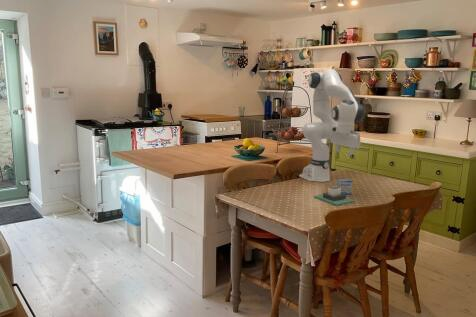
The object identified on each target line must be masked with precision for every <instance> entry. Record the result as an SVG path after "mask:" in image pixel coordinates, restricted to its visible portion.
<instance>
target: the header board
mask: <svg viewBox="0 0 476 317" xmlns="http://www.w3.org/2000/svg"><path fill="white" fill-rule="evenodd" d="M313 199H317V200H319V201H322V202H324V203H327V204H329V205H333V206H335V207H340V206H344V205H349V204H354V203H355V202H356V200H354V199H352V198H348V197H347V195H345V194H342V193H341V195H337V196H332V195H329V194H328V191H327V192H323V193H322V194H317V195H313ZM348 203H349V204H348ZM343 204H344V205H343ZM339 205H340V206H339Z"/></svg>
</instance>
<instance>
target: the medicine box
mask: <svg viewBox="0 0 476 317" xmlns="http://www.w3.org/2000/svg"><path fill="white" fill-rule="evenodd" d="M336 185H337V186H340V188H341V193H342V194H345V195H346V196H347V195H348V196H349V195H352V192H353V180H352V179H350V178H347V179H345V178H344V179H343V178H342V179H336Z"/></svg>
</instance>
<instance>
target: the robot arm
mask: <svg viewBox="0 0 476 317" xmlns="http://www.w3.org/2000/svg"><path fill="white" fill-rule="evenodd" d="M307 84H308V87H309V88H311V89H314V90H313V96H312V110H313V111H312V112H313V115H314V116H315V117H316V118H317V119H320V120H321V121H320V122H314V121H312V122H306V123H305V124H304V126H303V127H302V134H303V136H304V137H305V138H306V139H307V141H309V143H310V144H311V148H312V151H311V152H312V156H311V157H312V158H309V159H308V160H309V161H310V162H309V163H308V164H307V165H306V166H304V168H303V169H302V173H301V174H299V176H298V177H300V178H302V179H304V180H306V181H308V182H320V183H321V182H324V183H325V182H329V181H331V175H330V160H331V159H330V147H329V146H328V145H326V144H325V143H323V142H322V140H329V141H330V143H331V144H334V146H335V149H336V152H337V153H341V148H340V146H342V147H347V148H349V151H348V156H353V155H354V154H353V153H354V151H355V149H356V150H358V149H360V148H361V134H360V133H359V132H358V131H355V123H360V122H361V121H363V119H364V118H365V115H366V112H365V111H366V110H365V108H364V107H363V106H362V104H360V102H359V101H358V99H357V98H356V96H355V94H354V92H353V91H352V89H351V88H349V87H348V86H347V85H345V84H344V83H343V78H342V75H341V74H340V73H338V72H337V70H335V69H333V68H328V69H326V70H325V71H324V72H323V71H322V72H312V73H310V74H309V76H308V79H307ZM330 97H331V98H335V99H341V101H340V104H337V105H335V106H333V108H332V109H331V105H330V102H331V101H330V100H331V99H330Z"/></svg>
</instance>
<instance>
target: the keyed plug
mask: <svg viewBox="0 0 476 317" xmlns="http://www.w3.org/2000/svg"><path fill="white" fill-rule="evenodd" d="M327 192H328V194H329V195H332V196H337V195H341V188H340V186H337V184H336V185H329V186H328V188H327Z"/></svg>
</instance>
